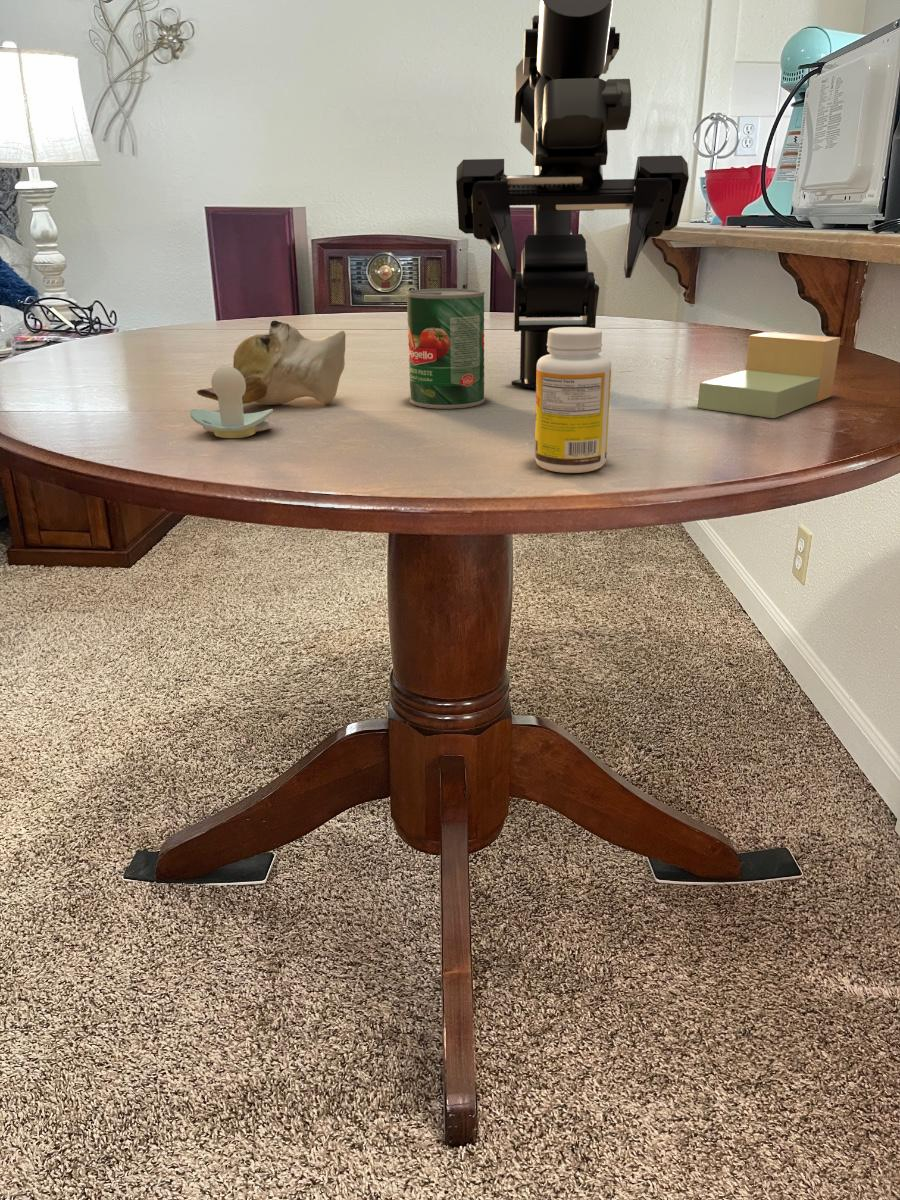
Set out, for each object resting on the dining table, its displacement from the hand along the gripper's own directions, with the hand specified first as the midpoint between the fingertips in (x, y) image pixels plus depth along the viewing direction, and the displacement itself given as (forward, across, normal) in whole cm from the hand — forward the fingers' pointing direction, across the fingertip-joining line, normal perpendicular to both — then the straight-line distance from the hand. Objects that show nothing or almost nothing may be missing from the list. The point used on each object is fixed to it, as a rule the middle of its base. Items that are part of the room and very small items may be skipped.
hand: (570, 275), depth 71 cm
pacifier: (+8, -30, +12) cm, 33 cm away
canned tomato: (-3, -11, +22) cm, 25 cm away
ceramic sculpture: (-2, -29, +22) cm, 36 cm away
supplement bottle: (+15, 0, +4) cm, 16 cm away
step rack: (-3, +22, +22) cm, 31 cm away
